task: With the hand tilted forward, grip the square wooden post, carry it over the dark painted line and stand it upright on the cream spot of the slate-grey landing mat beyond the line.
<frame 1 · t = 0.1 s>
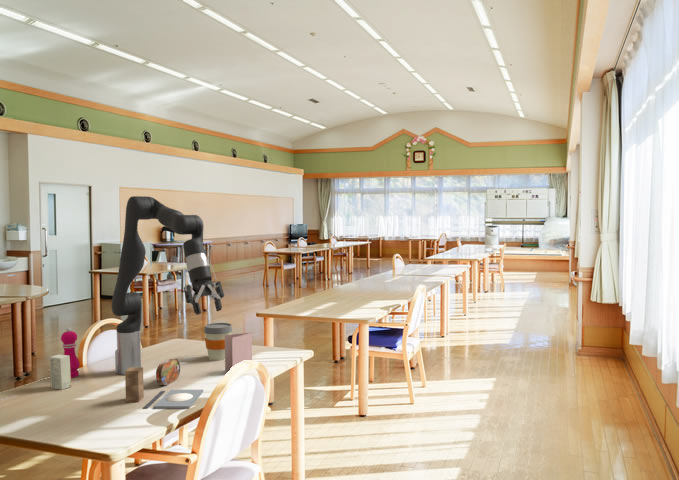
hand: (209, 312, 194), 31 cm above the table, tool tilted 20°, fingers open, 8 cm apart
skincare box: (60, 388, 213), on the table
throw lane: (165, 399, 198), on the table
reusable coffee cup: (218, 358, 255), on the table
pepper mill: (70, 376, 228), on the table
tin: (168, 382, 219), on the table
greeting card: (239, 371, 234), on the table
square wooden post: (134, 399, 198), on the table
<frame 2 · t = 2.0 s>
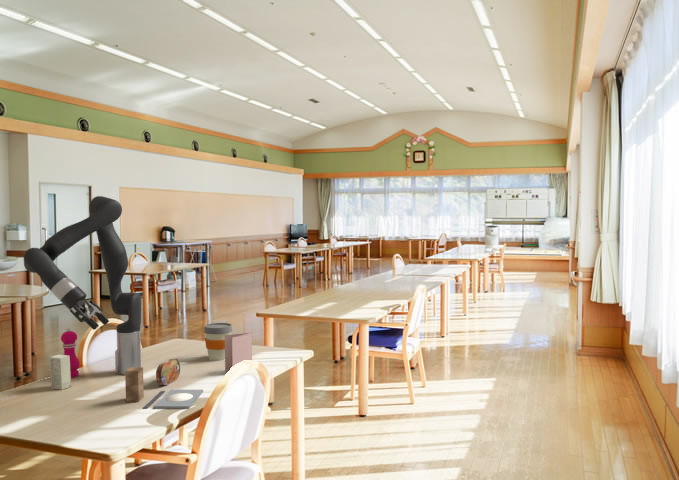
hand: (102, 325, 197), 27 cm above the table, tool tilted 45°, fingers open, 8 cm apart
nothing on the table moved.
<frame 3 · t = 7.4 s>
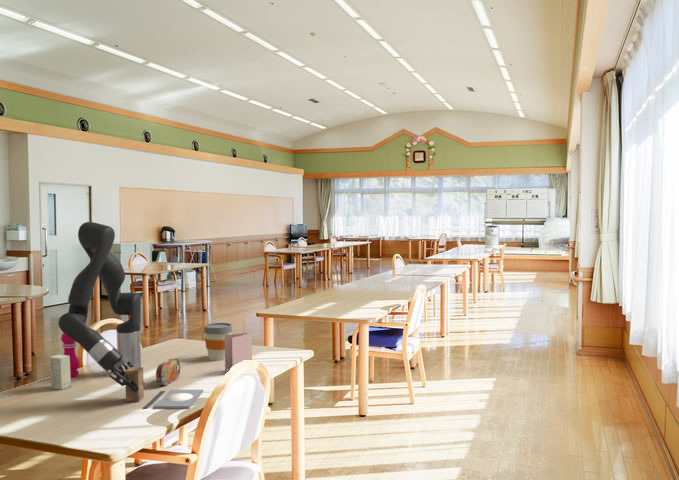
hand: (140, 388, 198), 4 cm above the table, tool tilted 45°, fingers closed on square wooden post, 4 cm apart
square wooden post: (135, 399, 198), on the table, touching gripper
everything else where it was.
when the fingers open (6 cm above the table, at t = 15.1 s): square wooden post stays where it is, resting on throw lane.
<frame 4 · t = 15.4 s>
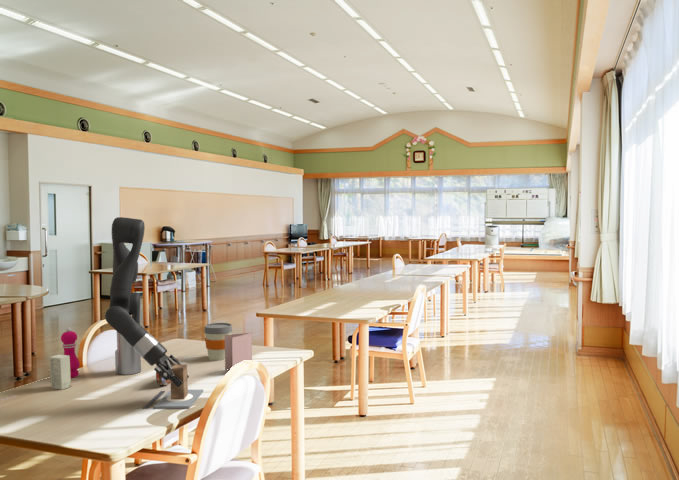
hand: (183, 381, 197), 6 cm above the table, tool tilted 45°, fingers open, 6 cm apart
square wooden post: (179, 397, 198), point 1 cm above the table, touching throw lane
everything else where it was.
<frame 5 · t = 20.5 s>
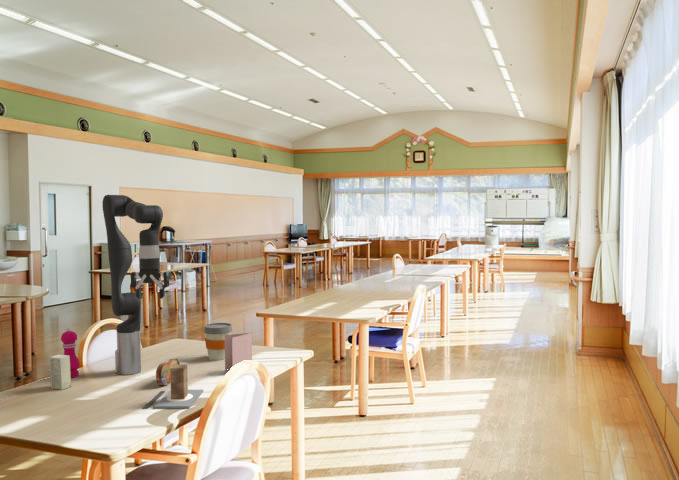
hand: (150, 298, 216), 33 cm above the table, tool pointing down, fingers open, 8 cm apart
nothing on the table moved.
at the end: square wooden post inside the target area (0.6 cm from its centre), point 0.9 cm above the table; square wooden post tilted 0°; the gripper is holding nothing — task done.
